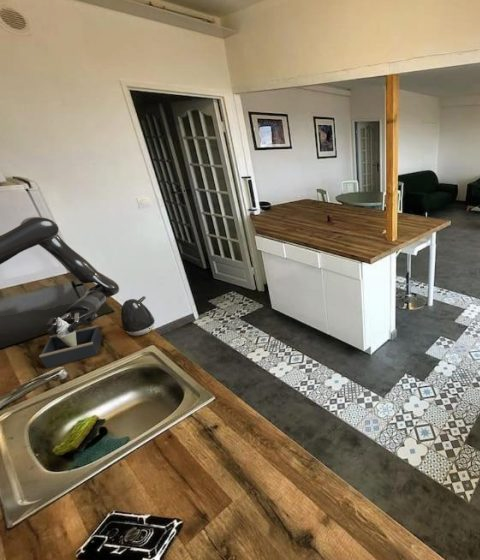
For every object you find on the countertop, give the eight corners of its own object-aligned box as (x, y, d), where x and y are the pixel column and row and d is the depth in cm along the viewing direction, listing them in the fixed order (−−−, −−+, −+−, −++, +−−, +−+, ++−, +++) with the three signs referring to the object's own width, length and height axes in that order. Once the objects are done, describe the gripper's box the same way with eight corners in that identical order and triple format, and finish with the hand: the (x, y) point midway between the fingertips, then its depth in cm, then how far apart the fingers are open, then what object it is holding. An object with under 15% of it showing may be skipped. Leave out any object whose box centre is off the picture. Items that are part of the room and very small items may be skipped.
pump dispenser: (163, 328, 130) (152, 296, 123) (136, 342, 121) (122, 308, 115) (148, 322, 134) (136, 291, 127) (121, 335, 125) (107, 302, 119)
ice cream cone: (87, 349, 116) (70, 316, 110) (70, 357, 113) (50, 322, 106) (82, 345, 119) (64, 312, 112) (64, 352, 115) (45, 318, 108)
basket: (46, 368, 107) (39, 356, 105) (55, 347, 117) (49, 336, 115) (97, 354, 114) (91, 343, 112) (102, 336, 124) (97, 325, 122)
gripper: (57, 302, 120) (28, 326, 105) (103, 297, 124) (80, 319, 109) (66, 319, 123) (38, 344, 108) (110, 313, 127) (89, 336, 113)
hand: (60, 331), depth 109 cm, fingers closed on ice cream cone, 5 cm apart
